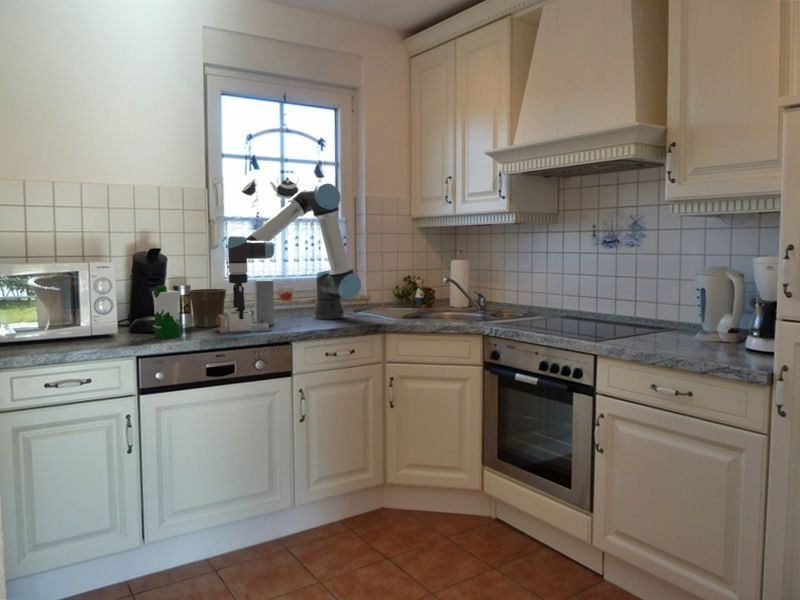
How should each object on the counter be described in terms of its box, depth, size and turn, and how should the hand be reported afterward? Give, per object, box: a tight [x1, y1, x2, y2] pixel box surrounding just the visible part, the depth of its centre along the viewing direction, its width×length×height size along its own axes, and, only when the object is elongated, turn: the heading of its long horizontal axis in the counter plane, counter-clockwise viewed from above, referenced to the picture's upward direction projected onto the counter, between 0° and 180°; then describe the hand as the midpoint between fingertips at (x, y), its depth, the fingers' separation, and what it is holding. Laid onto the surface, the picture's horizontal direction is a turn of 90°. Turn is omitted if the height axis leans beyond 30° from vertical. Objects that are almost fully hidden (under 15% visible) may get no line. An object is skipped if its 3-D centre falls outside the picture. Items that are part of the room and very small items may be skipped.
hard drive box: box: [253, 278, 275, 326], centre depth 277 cm, size 16×8×20 cm, turn 18°
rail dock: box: [217, 314, 272, 335], centre depth 256 cm, size 20×12×6 cm, turn 111°
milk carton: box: [152, 285, 182, 340], centre depth 238 cm, size 9×9×20 cm
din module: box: [227, 310, 253, 331], centre depth 255 cm, size 9×6×8 cm, turn 111°
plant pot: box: [188, 288, 228, 328], centre depth 270 cm, size 16×16×16 cm
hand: (239, 324), depth 256 cm, fingers open, 12 cm apart
